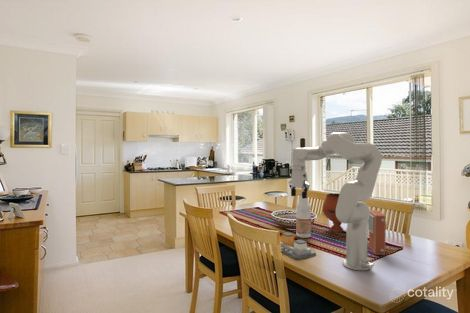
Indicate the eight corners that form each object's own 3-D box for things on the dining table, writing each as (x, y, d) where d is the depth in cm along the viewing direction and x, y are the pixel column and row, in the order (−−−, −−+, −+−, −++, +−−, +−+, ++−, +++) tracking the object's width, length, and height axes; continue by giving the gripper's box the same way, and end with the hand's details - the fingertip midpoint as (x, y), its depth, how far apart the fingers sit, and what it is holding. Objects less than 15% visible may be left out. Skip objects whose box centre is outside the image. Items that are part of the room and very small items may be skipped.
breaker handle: (306, 251, 161) (306, 241, 161) (299, 253, 159) (299, 243, 159) (300, 249, 166) (300, 239, 165) (293, 250, 163) (293, 240, 163)
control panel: (379, 246, 174) (387, 256, 160) (366, 246, 176) (373, 255, 161) (380, 210, 173) (387, 216, 159) (367, 209, 175) (373, 215, 160)
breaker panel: (315, 255, 161) (315, 248, 161) (296, 259, 155) (296, 253, 155) (289, 243, 180) (289, 237, 180) (272, 247, 174) (272, 241, 174)
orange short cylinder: (293, 246, 171) (294, 234, 170) (287, 247, 168) (287, 235, 168) (288, 244, 175) (288, 232, 174) (282, 245, 173) (282, 233, 172)
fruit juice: (293, 235, 197) (293, 192, 196) (303, 233, 202) (303, 191, 201) (303, 239, 189) (303, 194, 188) (314, 236, 194) (314, 193, 193)
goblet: (354, 229, 212) (354, 193, 211) (348, 235, 195) (348, 197, 194) (326, 225, 222) (326, 191, 221) (319, 231, 205) (319, 195, 205)
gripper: (313, 169, 173) (313, 198, 174) (294, 167, 188) (294, 194, 189) (304, 169, 170) (304, 199, 170) (284, 167, 185) (284, 195, 185)
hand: (298, 197), depth 180 cm, fingers open, 9 cm apart
